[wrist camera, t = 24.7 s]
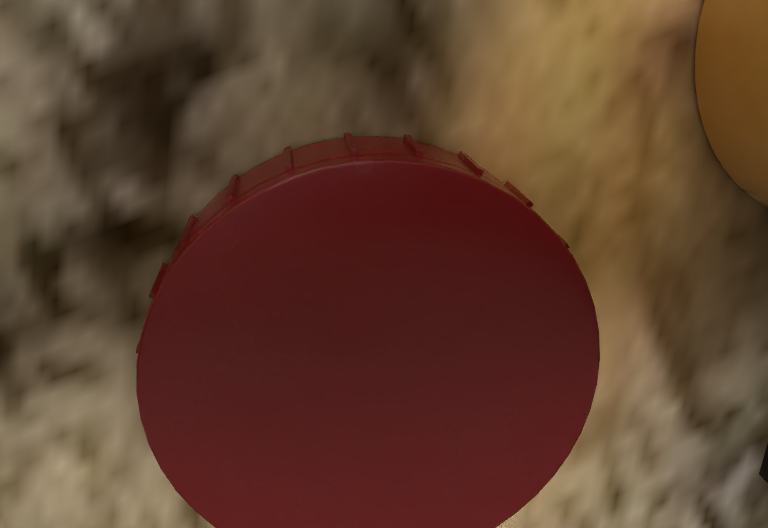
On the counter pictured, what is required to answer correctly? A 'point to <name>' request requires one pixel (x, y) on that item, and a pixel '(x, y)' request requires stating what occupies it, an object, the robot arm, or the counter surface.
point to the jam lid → (366, 345)
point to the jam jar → (735, 88)
